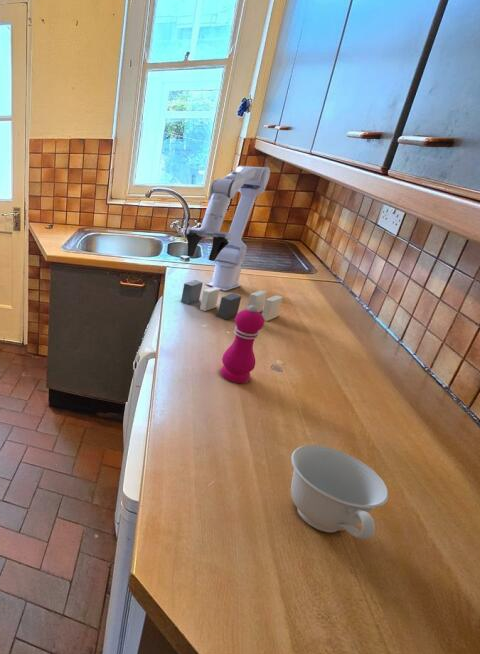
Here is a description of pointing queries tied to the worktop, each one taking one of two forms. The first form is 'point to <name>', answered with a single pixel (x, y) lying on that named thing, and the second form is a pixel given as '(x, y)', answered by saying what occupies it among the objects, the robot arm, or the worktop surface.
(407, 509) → the worktop surface
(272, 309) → the white book
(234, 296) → the grey book
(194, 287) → the grey book
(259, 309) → the white book
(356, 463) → the teacup
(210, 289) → the white thin book
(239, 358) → the pepper mill
